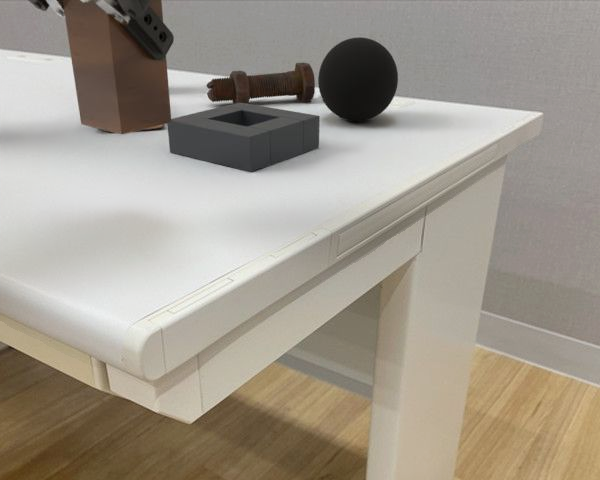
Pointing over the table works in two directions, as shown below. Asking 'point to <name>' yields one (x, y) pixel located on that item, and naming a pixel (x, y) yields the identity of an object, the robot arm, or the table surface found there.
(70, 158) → the table surface
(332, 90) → the decorative ball
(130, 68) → the post
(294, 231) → the table surface
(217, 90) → the bolt
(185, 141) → the pad base
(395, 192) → the table surface
